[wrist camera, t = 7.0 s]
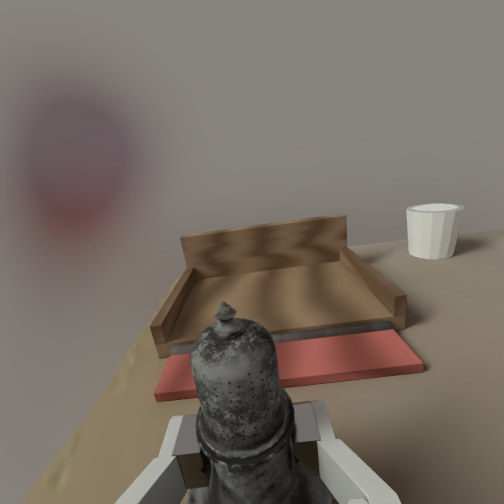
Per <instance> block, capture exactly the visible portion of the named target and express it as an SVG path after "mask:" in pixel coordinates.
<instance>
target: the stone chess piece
mask: <svg viewBox="0 0 504 504" xmlns="http://www.w3.org/2000/svg"><path fill="white" fill-rule="evenodd" d="M235 315H236V310H235V309H234V308H232V307H231V306H230V305H228V304H227V303H226V302H222V303H221V306H219V308H218V311H217V312H216V313H215V318H216V319H218V320H220V321H217V322H215V323H213V324H212V325H210V326H208V327H207V328H206V329H204V330H203V331H202V332H201V333H200V334H199V335H198V336H197V338H196V340H195V342H194V344H193V346H192V347H191V351H190V366H191V371H192V375H193V378H194V382H195V386H196V390H197V394H198V398H199V402H200V408H199V411H198V414H197V416H196V424H195V432H196V437H197V442H198V444H199V446H200V447H201V449H202V451H203V453H204V454H205V455H206V456H207V457H208V458H209V459H210V461H211V465H212V469H211V477H210V484H209V487H202V488H194V489H188V495H187V504H333V500H332V493H331V492H330V490H329V489H328V488H327V486H326V485H325V483H324V482H323V481H322V479H321V478H320V476H314V477H299V478H297V473H296V466H295V460H294V453H293V446H292V440H291V434H292V431H293V427H294V424H295V411H294V407H293V404H292V400H291V398H290V397H289V395H288V394H287V392H286V391H285V389H283V388H282V387H281V385H280V378H279V370H278V362H277V354H276V347H275V344H274V341H273V338H272V336H271V334H270V333H269V331H268V330H267V329H266V328H265V327H263V326H262V325H261V324H259V323H258V322H256V321H253V320H250V319H245V318H233V317H234V316H235Z"/></svg>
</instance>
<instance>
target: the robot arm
mask: <svg viewBox="0 0 504 504" xmlns="http://www.w3.org/2000/svg"><path fill="white" fill-rule="evenodd" d="M292 404H293V407H294V411H295V424H294V427H293V431H292V434H291V440H292V446H293V453H294V460H295V466H296V473H297V478H299V477H314V476H320V478H321V479H322V481H323V482H324V483H325V485H326V486H327V488H328V489H329V490H330V492H331V493H332V494H333V496H334V497H335V499H336V500H337V501H338V503H339V504H401V502H400V500H399V497H398V495H397V493H395V492H394V491H393V490H392V489H391V488H390V487H389V486H388V485H387V484H386V483H385V482H384V481H383V480H382V479H381V478H380V477H379V476H378V475H377V474H376V473H375V472H374V471H373V470H372V469H371V468H370V467H369V466H368V465H367V464H366V463H365V462H364V461H362V460H361V459H360V458H359V457H358V456H357V455H356V454H355V453H354V452H353V451H352V450H351V449H350V448H349V447H348V446H347V445H346V444H345V443H344V442H343V441H342V440H341V439H336V437H335V434H334V431H333V427H332V424H331V421H330V418H329V415H328V412H327V409H326V406H325V403H324V401H323V400H315V401H311V402H310V401H305V402H297V403H292ZM196 416H197V414H189V415H178V416H172V418H171V420H170V422H169V425H168V428H167V431H166V435H165V438H164V441H163V444H162V447H161V450H160V453H159V456H158V458H154V459H153V460H152V462H151V463H150V464H149V465H148V466H147V467H146V468H145V470H144V471H143V472H142V473H141V474H140V475H139V476H138V477H137V479H136V480H135V481H134V482H133V483H132V484H131V485H130V487H129V488H128V489H127V490H126V491H125V492H124V493H123V495H122V496H121V497H120V498H119V499H118V500H117V501H116V503H115V504H180V502H181V501H182V499H183V497H184V496H185V494H186V492H187V489H194V488H202V487H209V484H210V477H211V469H212V465H211V461H210V459H209V458H208V457H207V456H206V455H205V454H204V453H203V451H202V449H201V447H200V446H199V444H198V442H197V437H196V432H195V424H196Z"/></svg>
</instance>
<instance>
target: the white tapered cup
mask: <svg viewBox="0 0 504 504" xmlns="http://www.w3.org/2000/svg"><path fill="white" fill-rule="evenodd" d="M463 212H464V207H463V206H461V205H456V204H422V205H416V206H411V207H408V208H407V228H408V247H409V254H411V255H413V256H415V257H419V258H425V259H445V258H449V257H452V256H453V254H454V250H455V246H456V242H457V237H458V233H459V229H460V225H461V220H462V216H463Z"/></svg>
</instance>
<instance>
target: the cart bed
mask: <svg viewBox="0 0 504 504" xmlns="http://www.w3.org/2000/svg"><path fill="white" fill-rule="evenodd" d="M180 239H181V243H182V248H183V252H184V257H185V261H186V265H187V269H186V270H185V272H184V273H183V275H182V277H181V278H180V280H179V281H178V283H177V284H176V286H175V288H174V289H173V291H172V292H171V294H170V296H169V297H168V299H167V300H166V302H165V303H164V305H163V307H162V308H161V310H160V311H159V313H158V314H157V316H156V318H155V319H154V321H153V322H152V324H151V326H150V329H151V332H152V336H153V339H154V342H155V346H156V349H157V352H158V356H159V358H164V357H169V360H168V362H167V364H166V367H165V369H164V371H163V374H162V376H161V378H160V381H159V383H158V385H157V388H156V390H155V392H154V396H155V399H156V402H160V401H169V400H178V399H187V398H196V397H198V394H197V390H196V386H195V382H194V378H193V375H192V371H191V366H190V351H191V347H192V346H193V344H194V342H195V340H196V338H197V336H198V335H199V334H200V333H201V332H202V331H203V330H204V329H206V328H207V327H208V326H210V325H212V324H213V323H215V322H217V321H220V320H218V319H216V318H215V313H216V312H217V311H218V308H219V306H221V303H222V302H226V303H227V304H228V305H230V306H231V307H232V308H234V309H235V310H236V315H235V316H234V317H233V318H245V319H250V320H253V321H256V322H258V323H259V324H261V325H262V326H263V327H265V328H266V329H267V330H268V331H269V333H270V334H271V336H272V338H273V341H274V344H275V347H276V354H277V362H278V370H279V378H280V385H281V387H282V388H285V387H294V386H303V385H312V384H321V383H330V382H339V381H348V380H357V379H366V378H375V377H383V376H392V375H401V374H410V373H419V372H423V364H424V363H423V362H422V361H421V360H420V359H419V358H418V356H417V355H416V354H415V353H414V352H413V351H412V350H411V349H410V347H409V346H408V345H407V344H406V343H405V342H404V341H403V340H402V338H401V337H400V336H399V335H398V334H397V333H396V332H395V331H394V330H402V329H405V312H406V294H404V293H403V292H402V291H401V290H399V289H398V288H397V287H396V286H395V285H393V284H392V283H391V282H390V281H388V280H387V279H386V278H385V277H383V276H382V275H381V274H380V273H378V272H377V271H376V270H375V269H374V268H372V267H371V266H370V265H369V264H367V263H366V262H365V261H364V260H362V259H361V258H360V257H359V256H357V255H356V254H355V253H354V252H353V251H351V250H350V249H349V248H348V247H347V224H346V215H344V214H337V215H330V216H322V217H315V218H308V219H300V220H293V221H285V222H278V223H270V224H263V225H256V226H248V227H240V228H233V229H226V230H219V231H211V232H203V233H196V234H189V235H183V236H182V237H181V238H180Z"/></svg>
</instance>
